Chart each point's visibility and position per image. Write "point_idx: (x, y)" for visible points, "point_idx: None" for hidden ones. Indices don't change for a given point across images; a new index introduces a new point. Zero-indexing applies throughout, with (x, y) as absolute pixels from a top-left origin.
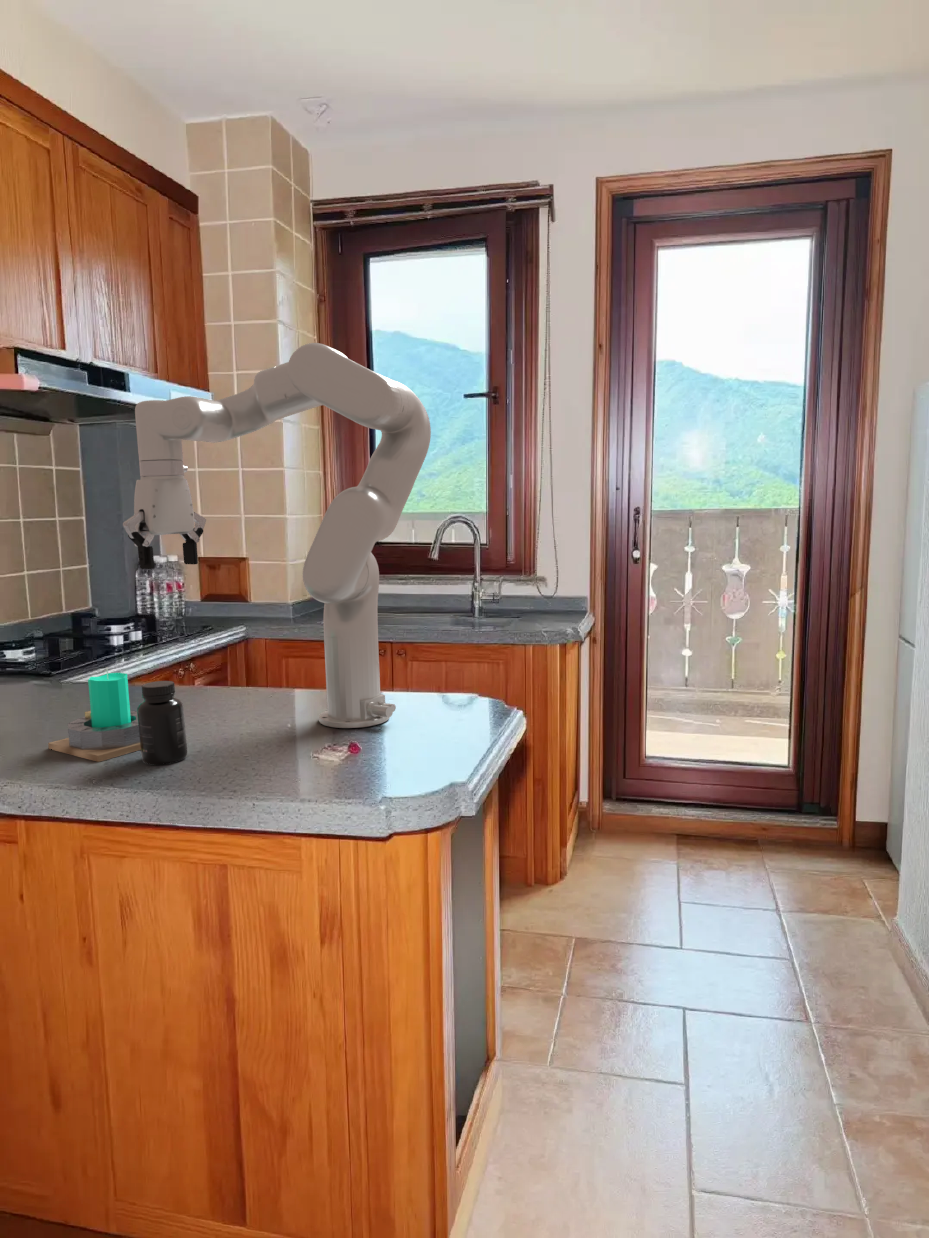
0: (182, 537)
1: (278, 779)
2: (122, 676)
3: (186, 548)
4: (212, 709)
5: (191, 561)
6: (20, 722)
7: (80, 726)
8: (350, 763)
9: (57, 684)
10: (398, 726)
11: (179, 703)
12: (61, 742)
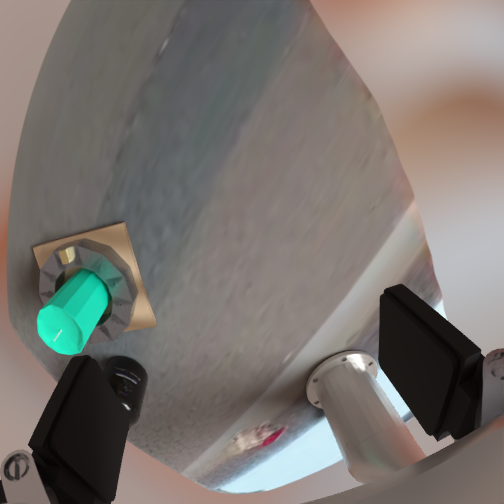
0: (483, 400)
1: (185, 453)
2: (80, 332)
3: (427, 374)
4: (272, 210)
5: (385, 352)
6: (47, 74)
7: (50, 295)
8: (244, 456)
9: None
10: None
11: (132, 425)
12: (43, 258)
